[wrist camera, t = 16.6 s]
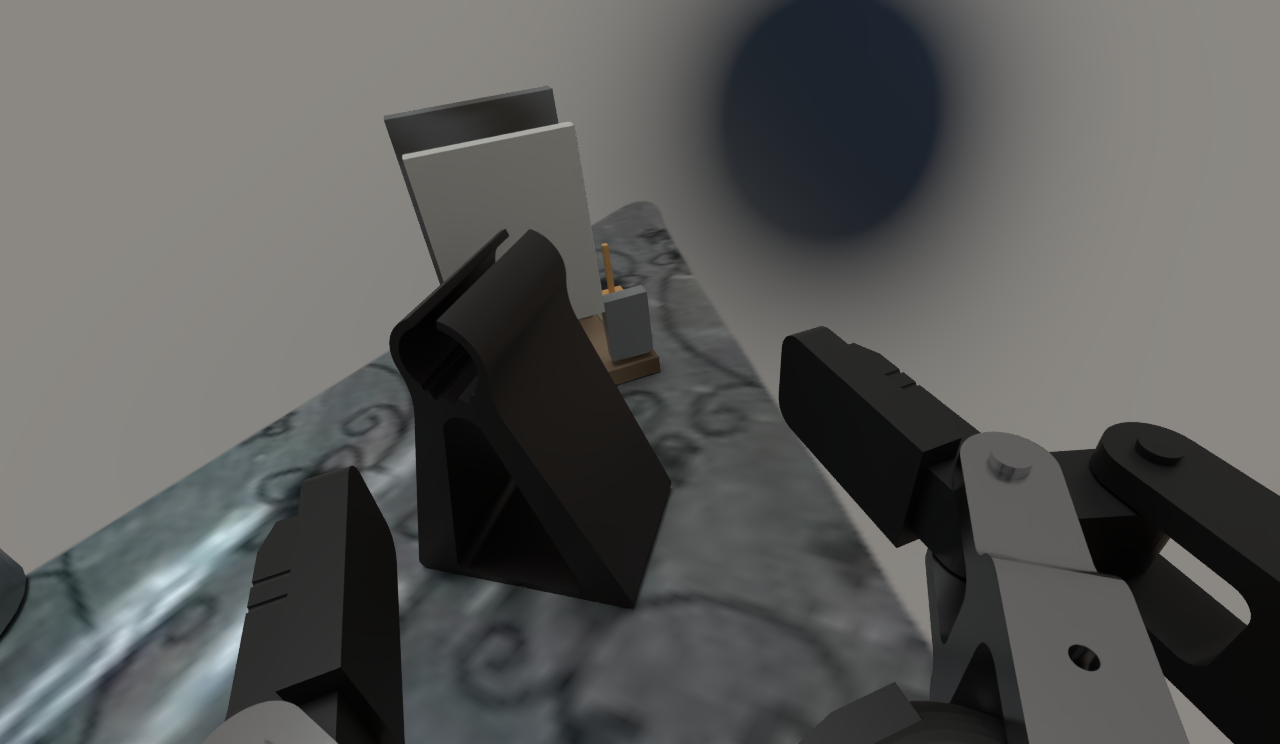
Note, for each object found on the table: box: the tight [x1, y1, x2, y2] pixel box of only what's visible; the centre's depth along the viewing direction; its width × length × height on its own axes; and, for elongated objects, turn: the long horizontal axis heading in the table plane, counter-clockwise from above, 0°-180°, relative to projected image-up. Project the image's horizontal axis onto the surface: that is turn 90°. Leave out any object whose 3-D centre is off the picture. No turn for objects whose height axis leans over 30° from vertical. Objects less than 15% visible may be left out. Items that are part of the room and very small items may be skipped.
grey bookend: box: [384, 86, 660, 385], centre depth 30 cm, size 12×7×14 cm, turn 110°
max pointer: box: [601, 243, 623, 319], centre depth 34 cm, size 1×1×5 cm
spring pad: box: [402, 122, 653, 362], centre depth 28 cm, size 9×1×12 cm, turn 110°
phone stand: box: [389, 228, 671, 608], centre depth 22 cm, size 9×6×12 cm, turn 73°
